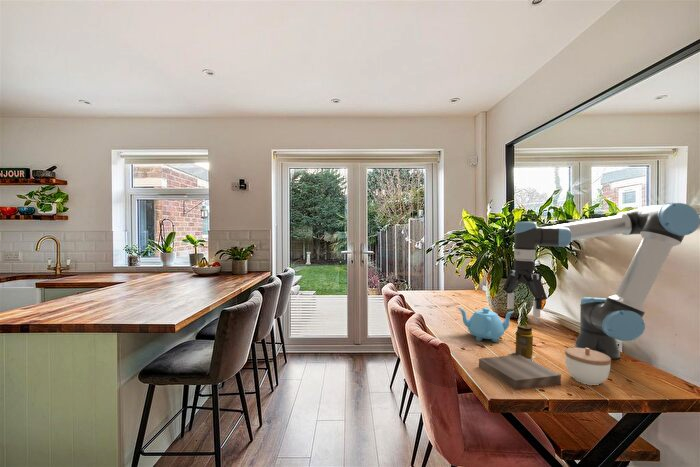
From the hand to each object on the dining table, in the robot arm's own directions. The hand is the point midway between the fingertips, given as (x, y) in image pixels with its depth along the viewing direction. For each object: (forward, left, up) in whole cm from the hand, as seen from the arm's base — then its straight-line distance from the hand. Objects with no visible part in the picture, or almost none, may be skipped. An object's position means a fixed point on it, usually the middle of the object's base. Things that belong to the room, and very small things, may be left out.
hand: (522, 312), depth 131 cm
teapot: (0, -23, -18) cm, 29 cm away
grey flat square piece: (+15, +14, -18) cm, 27 cm away
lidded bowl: (-5, +23, -18) cm, 30 cm away
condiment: (0, 0, -18) cm, 18 cm away
